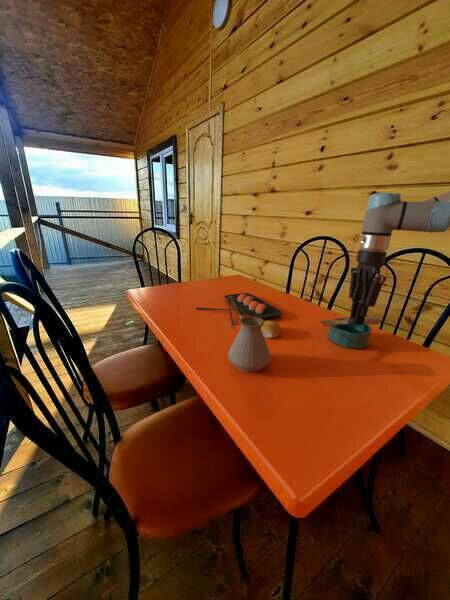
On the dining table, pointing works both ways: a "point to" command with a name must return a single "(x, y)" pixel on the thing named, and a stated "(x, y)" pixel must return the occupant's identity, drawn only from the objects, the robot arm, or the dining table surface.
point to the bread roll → (270, 329)
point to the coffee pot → (249, 344)
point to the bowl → (350, 335)
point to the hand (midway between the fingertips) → (356, 322)
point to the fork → (350, 321)
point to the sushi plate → (250, 306)
